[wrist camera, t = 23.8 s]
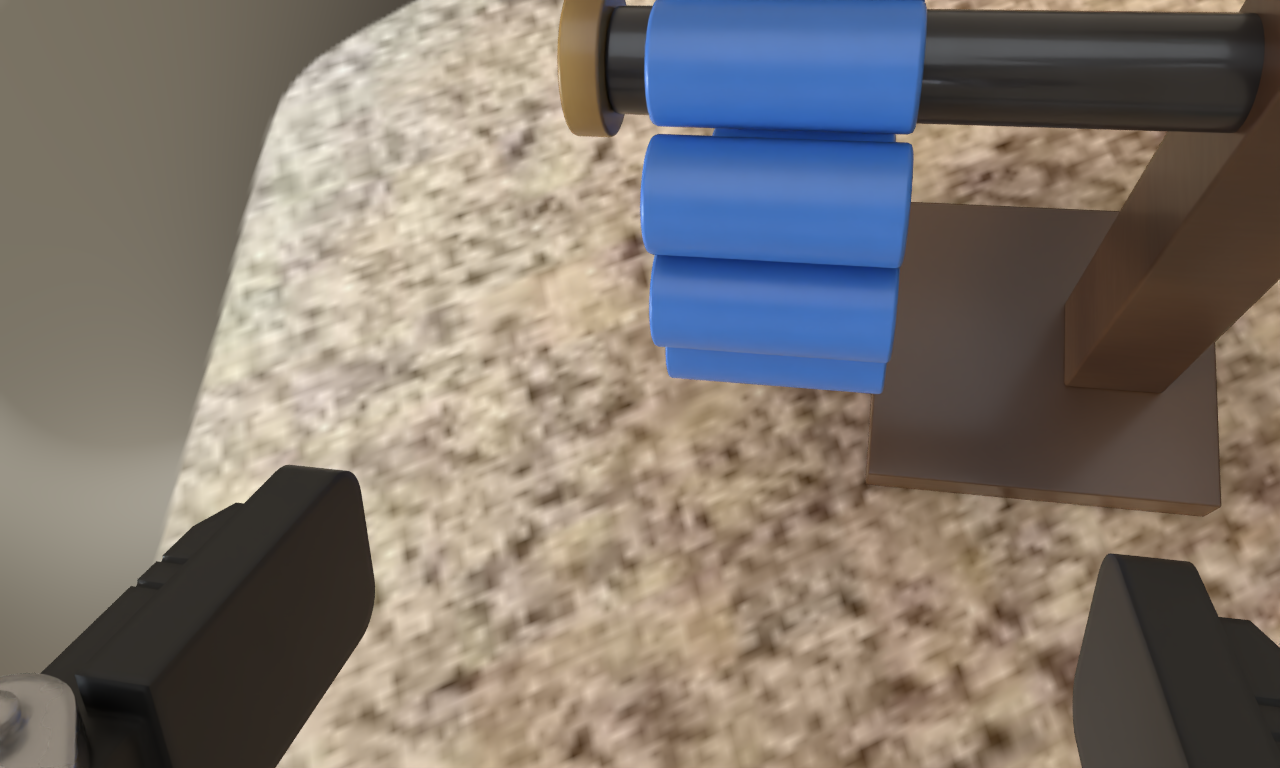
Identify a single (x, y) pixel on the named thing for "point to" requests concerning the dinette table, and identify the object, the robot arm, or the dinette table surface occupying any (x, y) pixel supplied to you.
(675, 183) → the blue ribbed cylinder bundle
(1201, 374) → the tape stand
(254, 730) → the robot arm
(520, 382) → the dinette table surface
